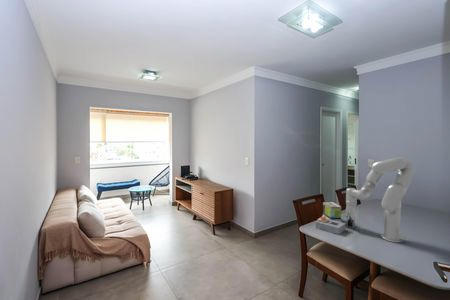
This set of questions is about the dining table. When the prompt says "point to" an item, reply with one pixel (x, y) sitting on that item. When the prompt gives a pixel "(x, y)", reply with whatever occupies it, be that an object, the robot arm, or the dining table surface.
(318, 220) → the shutter
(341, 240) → the dining table surface
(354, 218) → the plug
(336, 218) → the tea box
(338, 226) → the socket block
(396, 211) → the robot arm
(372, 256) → the dining table surface
